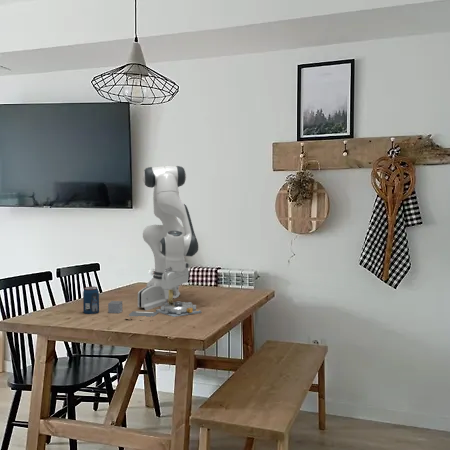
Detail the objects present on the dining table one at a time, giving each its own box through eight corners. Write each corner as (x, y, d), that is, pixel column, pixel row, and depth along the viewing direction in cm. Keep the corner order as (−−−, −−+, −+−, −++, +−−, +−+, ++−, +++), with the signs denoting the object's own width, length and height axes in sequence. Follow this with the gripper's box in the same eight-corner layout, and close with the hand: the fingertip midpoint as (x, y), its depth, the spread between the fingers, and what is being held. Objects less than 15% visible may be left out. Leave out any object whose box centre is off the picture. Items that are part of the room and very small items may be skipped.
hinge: (145, 310, 240) (143, 289, 240) (137, 310, 243) (135, 289, 242) (168, 303, 254) (166, 283, 254) (160, 303, 257) (158, 283, 256)
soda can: (88, 311, 239) (87, 285, 238) (102, 312, 237) (101, 286, 236) (80, 315, 232) (79, 288, 231) (94, 316, 230) (93, 289, 229)
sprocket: (153, 310, 236) (153, 291, 235) (178, 303, 248) (178, 286, 248) (178, 316, 226) (178, 297, 225) (203, 309, 238) (203, 291, 237)
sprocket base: (155, 311, 238) (155, 309, 238) (182, 306, 248) (182, 304, 248) (174, 318, 227) (174, 316, 227) (201, 313, 236) (201, 310, 236)
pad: (124, 320, 224) (124, 318, 224) (132, 312, 236) (132, 310, 236) (151, 321, 223) (151, 319, 223) (158, 313, 235) (158, 311, 235)
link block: (119, 314, 234) (107, 314, 234) (122, 311, 238) (111, 311, 239) (118, 303, 233) (107, 303, 234) (122, 301, 238) (111, 300, 239)
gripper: (170, 270, 229) (170, 301, 230) (190, 263, 248) (190, 291, 249) (157, 269, 231) (158, 299, 233) (179, 262, 250) (179, 290, 251)
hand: (175, 295), depth 241 cm, fingers closed
